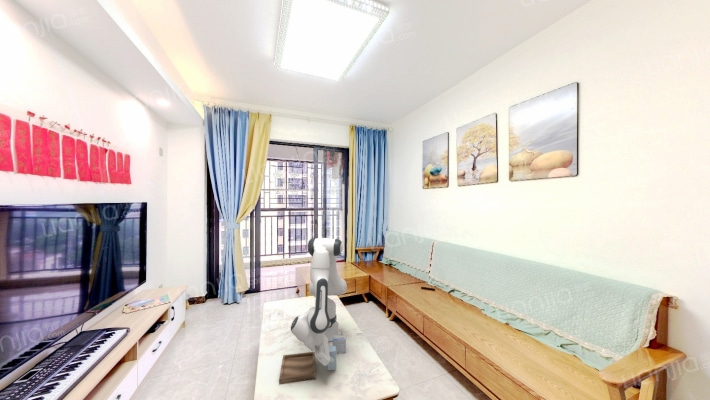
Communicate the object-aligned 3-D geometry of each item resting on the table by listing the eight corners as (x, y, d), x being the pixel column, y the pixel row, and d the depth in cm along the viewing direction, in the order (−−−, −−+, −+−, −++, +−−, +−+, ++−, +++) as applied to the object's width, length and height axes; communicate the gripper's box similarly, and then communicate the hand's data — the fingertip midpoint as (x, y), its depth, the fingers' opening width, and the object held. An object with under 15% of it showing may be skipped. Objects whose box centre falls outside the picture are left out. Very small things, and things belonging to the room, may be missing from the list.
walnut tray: (283, 359, 136) (283, 355, 136) (314, 356, 139) (314, 351, 139) (279, 384, 118) (279, 379, 118) (315, 379, 121) (315, 374, 121)
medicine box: (345, 348, 146) (345, 335, 146) (345, 353, 142) (345, 339, 142) (333, 348, 146) (333, 335, 146) (332, 353, 141) (332, 339, 141)
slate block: (327, 364, 130) (327, 346, 130) (335, 363, 131) (335, 345, 130) (327, 370, 125) (328, 351, 125) (336, 369, 126) (336, 351, 126)
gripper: (319, 349, 116) (339, 366, 118) (318, 326, 136) (335, 341, 138) (310, 359, 115) (330, 375, 118) (310, 334, 136) (327, 349, 138)
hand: (332, 356), depth 128 cm, fingers closed on slate block, 4 cm apart
